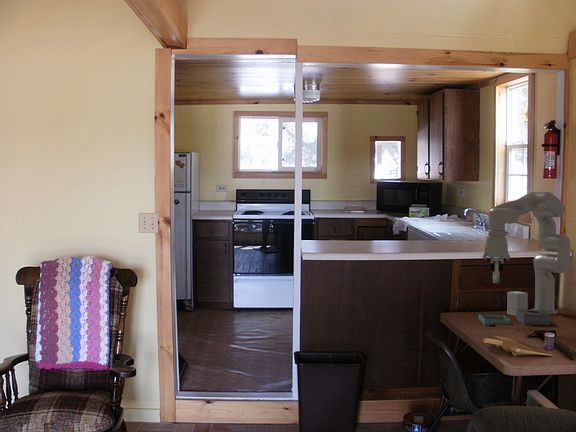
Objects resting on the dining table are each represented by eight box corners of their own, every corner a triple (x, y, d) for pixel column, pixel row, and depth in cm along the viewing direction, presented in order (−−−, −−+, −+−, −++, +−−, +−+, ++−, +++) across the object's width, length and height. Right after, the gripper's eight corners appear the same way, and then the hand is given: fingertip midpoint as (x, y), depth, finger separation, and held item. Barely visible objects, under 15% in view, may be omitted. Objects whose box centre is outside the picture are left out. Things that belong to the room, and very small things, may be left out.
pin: (490, 282, 273) (490, 257, 273) (499, 282, 272) (499, 257, 272) (492, 283, 268) (493, 258, 268) (501, 283, 268) (502, 258, 268)
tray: (478, 320, 278) (478, 314, 278) (503, 320, 276) (503, 315, 276) (484, 325, 266) (484, 319, 266) (511, 326, 264) (511, 320, 264)
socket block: (516, 321, 275) (516, 309, 275) (541, 321, 274) (541, 309, 274) (524, 326, 263) (524, 314, 263) (550, 327, 262) (550, 314, 262)
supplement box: (528, 317, 285) (528, 293, 284) (517, 318, 282) (517, 293, 282) (517, 314, 292) (517, 290, 291) (506, 315, 289) (506, 291, 289)
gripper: (511, 233, 273) (511, 271, 273) (477, 233, 275) (477, 270, 275) (516, 234, 265) (515, 272, 266) (481, 234, 267) (480, 272, 267)
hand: (496, 271), depth 270 cm, fingers closed on pin, 3 cm apart
